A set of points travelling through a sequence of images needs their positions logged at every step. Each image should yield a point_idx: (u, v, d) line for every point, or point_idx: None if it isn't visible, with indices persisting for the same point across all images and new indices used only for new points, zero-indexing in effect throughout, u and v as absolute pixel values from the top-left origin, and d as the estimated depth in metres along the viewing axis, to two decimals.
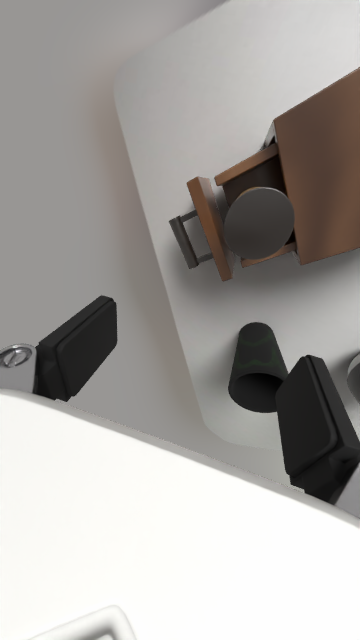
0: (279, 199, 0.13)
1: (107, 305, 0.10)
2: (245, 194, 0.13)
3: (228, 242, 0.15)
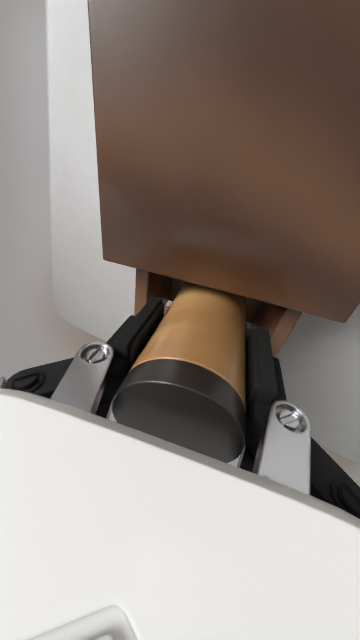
0: (147, 390, 0.06)
1: (159, 306, 0.10)
2: (113, 411, 0.07)
3: None
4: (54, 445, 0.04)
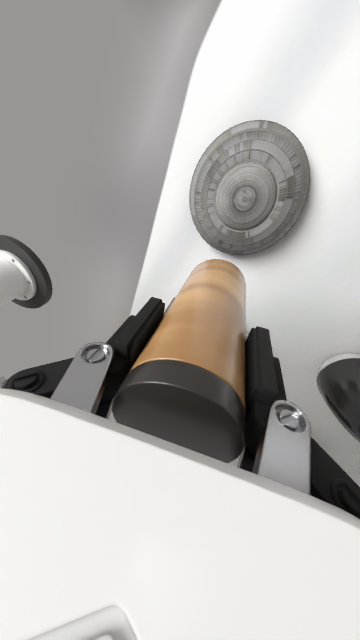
0: (147, 391, 0.06)
1: (159, 306, 0.10)
2: (113, 412, 0.07)
3: None
4: (54, 445, 0.04)
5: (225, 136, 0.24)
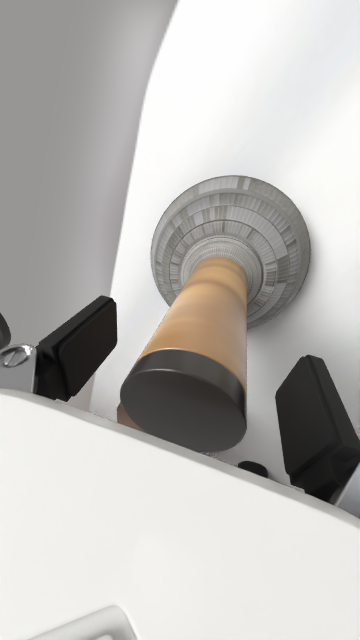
0: (154, 378, 0.06)
1: (107, 305, 0.10)
2: (121, 400, 0.08)
3: None
4: (54, 445, 0.04)
5: (191, 195, 0.17)
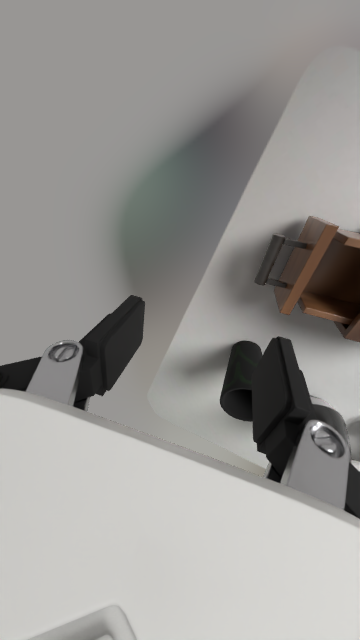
0: None
1: (138, 304, 0.10)
2: None
3: None
4: (54, 445, 0.04)
5: None
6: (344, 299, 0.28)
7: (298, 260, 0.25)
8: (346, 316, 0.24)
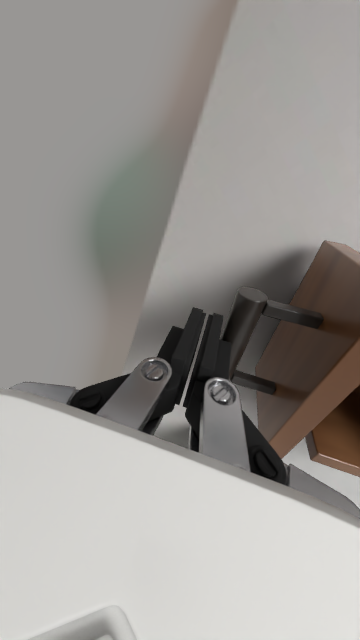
0: None
1: (202, 317, 0.10)
2: None
3: None
4: (54, 445, 0.04)
5: None
6: None
7: (299, 347, 0.11)
8: None
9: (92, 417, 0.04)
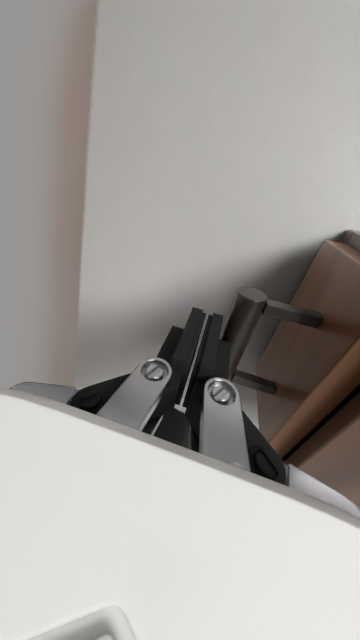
0: None
1: (202, 317, 0.10)
2: None
3: None
4: (54, 445, 0.04)
5: None
6: None
7: (299, 346, 0.11)
8: None
9: (92, 417, 0.04)
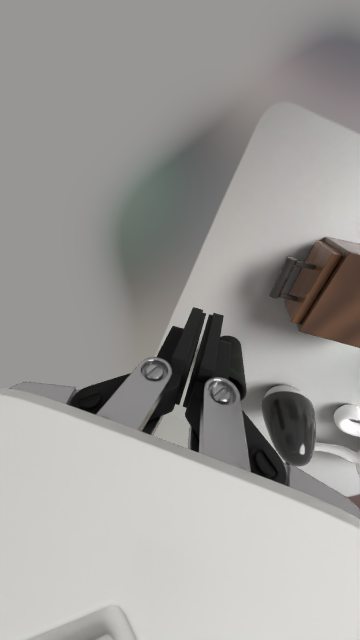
0: None
1: (202, 317, 0.10)
2: None
3: None
4: (54, 445, 0.04)
5: None
6: None
7: (307, 279, 0.29)
8: None
9: (92, 417, 0.04)
